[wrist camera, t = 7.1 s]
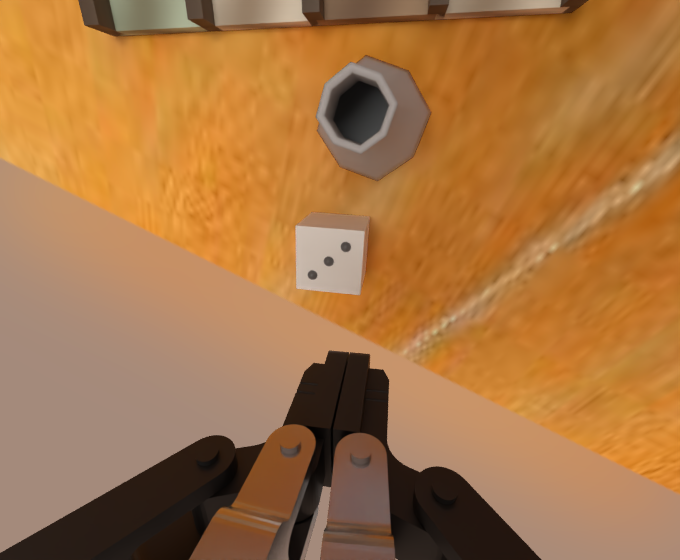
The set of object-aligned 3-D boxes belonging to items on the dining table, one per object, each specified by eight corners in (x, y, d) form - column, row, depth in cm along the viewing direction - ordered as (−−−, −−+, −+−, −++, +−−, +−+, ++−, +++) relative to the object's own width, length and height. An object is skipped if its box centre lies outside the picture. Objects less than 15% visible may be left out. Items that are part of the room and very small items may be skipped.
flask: (379, 198, 24) (369, 233, 15) (300, 133, 24) (239, 129, 14) (451, 109, 22) (491, 87, 12) (364, 32, 21) (338, -53, 12)
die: (369, 216, 25) (364, 232, 21) (365, 274, 27) (359, 301, 23) (308, 211, 26) (289, 226, 21) (307, 269, 28) (291, 293, 23)
